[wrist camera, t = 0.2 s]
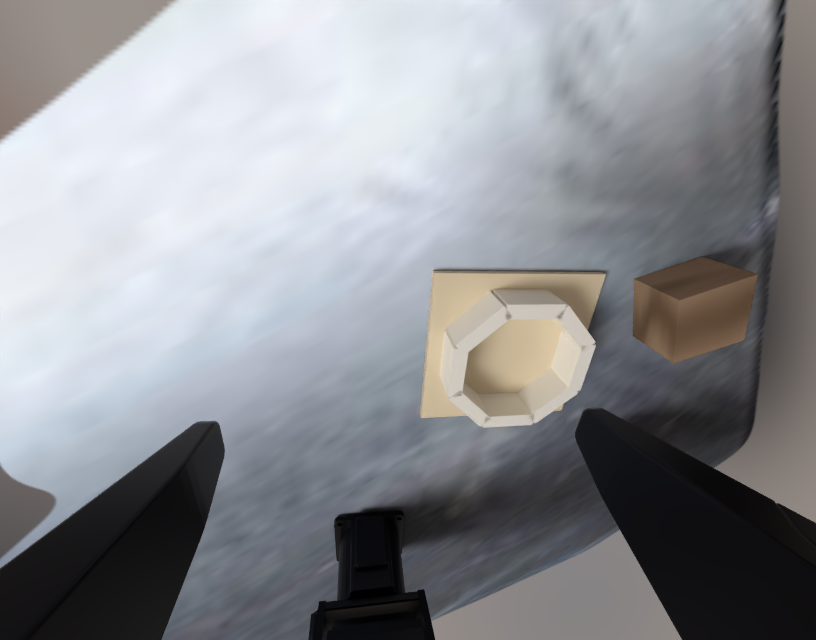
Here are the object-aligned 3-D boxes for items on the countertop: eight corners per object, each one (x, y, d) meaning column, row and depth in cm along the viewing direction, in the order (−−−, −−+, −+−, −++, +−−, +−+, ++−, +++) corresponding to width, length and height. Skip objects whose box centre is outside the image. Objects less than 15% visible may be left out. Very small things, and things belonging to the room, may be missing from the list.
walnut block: (692, 314, 27) (744, 340, 23) (631, 334, 27) (673, 363, 23) (699, 255, 24) (757, 274, 21) (632, 278, 24) (679, 300, 21)
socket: (558, 406, 29) (578, 432, 26) (420, 413, 27) (426, 442, 25) (601, 272, 24) (632, 287, 21) (432, 270, 22) (442, 287, 19)
